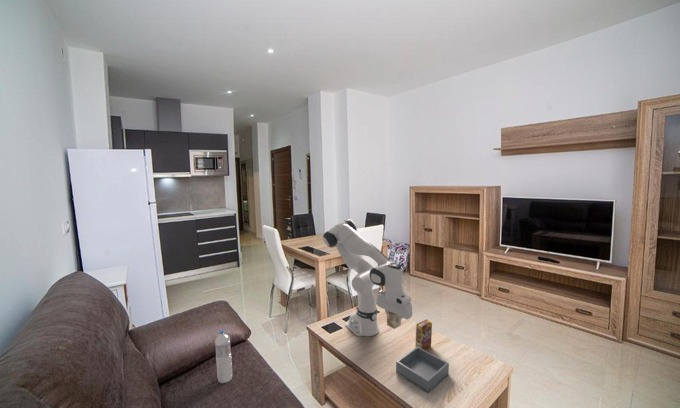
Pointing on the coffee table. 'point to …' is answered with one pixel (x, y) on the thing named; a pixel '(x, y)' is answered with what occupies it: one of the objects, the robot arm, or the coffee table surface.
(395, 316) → the beech block
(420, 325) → the candy box
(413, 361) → the bin
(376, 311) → the robot arm
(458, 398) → the coffee table surface
